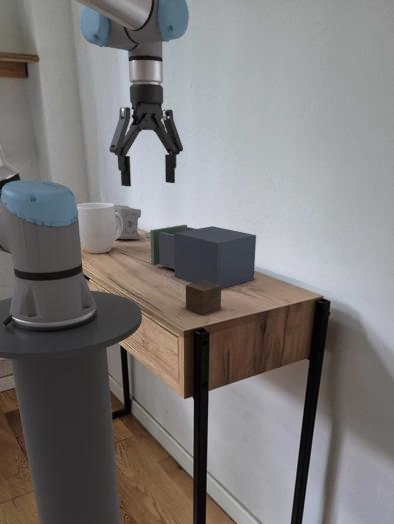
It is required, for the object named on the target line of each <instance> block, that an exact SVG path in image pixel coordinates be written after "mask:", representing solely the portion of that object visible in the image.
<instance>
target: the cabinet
mask: <svg viewBox="0 0 394 524" xmlns="http://www.w3.org/2000/svg"><path fill="white" fill-rule="evenodd" d="M256 246H257V234H252V233H248V232H243V231H238V230H233V229H227V228H223V227H219V226H213V225H211V226H206V227H199V228H195V229H193V230H188V231H182V232H176V233H174V261H175V269H174V277H175V278H178V279H182V280H184V281H187V282H190V283H195V282H199V281H203V280H205V281H208V282H211V283H215V284H218V285H221V290H222V289H225V288H229V287H232V286H236V285H239V284H243V283H246V282H250V281H253V280H254V279H255V267H256V266H255V265H256V263H255V262H256V249H257V248H256Z"/></svg>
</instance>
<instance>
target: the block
mask: <svg viewBox="0 0 394 524" xmlns="http://www.w3.org/2000/svg"><path fill="white" fill-rule="evenodd" d="M185 309H186V310H188V311H190V312H193V313H195V314H198V315H200V316H205V315H207V314H208V315H209V314H212V313H214V312H217V311H221V309H222V289H221V285H218V284H215V283H211V282H208V281H205V280H203V281H199V282H195V283H193V282H190V283H188V284H185Z"/></svg>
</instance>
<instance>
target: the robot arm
mask: <svg viewBox="0 0 394 524" xmlns="http://www.w3.org/2000/svg"><path fill="white" fill-rule="evenodd" d="M74 1H75V2H77V3H79V4H80V5H82V6H81V9H80V12H79V18H78V19H79V29H80V32H81V35H82V37H83V38H84V39H85V40H86V42H87V43H89V44H91V45H95V46H98V47H99V48H110V49H116V50H122V51H127V56H128V77H129V78H128V79H129V81H128V82H130V83H131V85H130V86H129V102H130V104H131V107H128V106H124V107H120V108H119V115H118V121H117V124H116V127H115V130H114V133H113V136H112V139H111V143H110V146H109V152H110V153H112V154H114V156H117V167H118V168H117V170H118V171H119V172H120V182H121V184H120V185H121V186H122V187H128V188H129V187H132V178H131V175H132V174H131V156H130V155H127V154H128V153H129V151H130V149H131V148H132V146H133V145H134V143H135V140H136V139H137V137H138V136H139V134H140V133H141V132H142V131H152V132H154V133H155V134H156V136H157V137H158V139H159V141H160V142H161V144H162V146H163V148H164V149H165V151H166V152H167V154H165V155H164V157H165V158H164V163H165V164H164V167H165V170H164V171H165V172H164V173H165V175H164V176H165V178H164V179H165V183H166V184H167V183H168V184H175V183H176V169H177V156H178V155H180V154H181V152H183V151H184V147H183V143H182V141H181V138H180V135H179V132H178V129H177V126H176V123H175V120H174V111H173V109H163V107H162V105H163V104H164V87H163V85H162V84H163V83H164V63H163V62H164V61H163V60H164V59H163V42H164V43H169V42H170V41H173V40H177V39H181V38H182V37H183V36H184V35H185V34H186V32H187V30H188V28H189V19H190V12H189V6H188V3H187V1H186V0H74ZM131 119H132V120H131ZM130 121H131V123H130ZM128 128H129V129H128ZM77 205H78V204H77V200H76V195H75V193H74V192H73V190H72V189H71V188H70V187H68V186H66V185H63V184H61V183H58V182H54V181H44V180H43V181H42V180H37V179H36V180H35V179H21V176H20V172H19V169H18V168H16V167H14V166H13V165H12V164H10V163H9V162H7V159H6V157H5V154H4V151H3V148H2V144H1V143H0V252H3V253H8V254H11V260H12V268H13V272H14V285H13V291H12V295H11V296H12V297H11V298H12V301H11V307H10V316H9V317H7V318H6V319H5V320H4V321H3V322H2V323H3V324H4V325H5V326H7V325H8V324H9V323H10V322H11V323H12V324H13V325H14V326H15V327H17V328H19V329H22V330H26V331H32V332H56V331H63V330H69V329H73V328H77V327H80V326H83V325H85V324H87V323H89V322H91V321H92V320H93V319H94V318H95V317H96V316H97V308H96V303H95V300H94V298H93V295H92V293H91V291H92V290H91V288H90V286H89V284H88V282H87V280H86V277H85V275H84V268H83V258H82V247H81V245H82V244H81V240H80V233H79V221H78V209H77Z"/></svg>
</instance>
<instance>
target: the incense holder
mask: <svg viewBox="0 0 394 524" xmlns="http://www.w3.org/2000/svg"><path fill="white" fill-rule="evenodd" d="M114 207H115V212H117V213H118V214H119V215H120V216H121V218H122V220H123V230H122V233H121V235H120V237H119V238H118V239H119V240H140V237H141V236H140V234H139V232H138V227H139V219H140V218H141V216H142V210H141V208H133V207H131V206H129V205H123V204H122V205H121V204H114ZM115 220H116V228H115V229H116V231H115V235H116V234H117V231H118V227H119V223H118V218H117V217H116V216H115Z"/></svg>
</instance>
